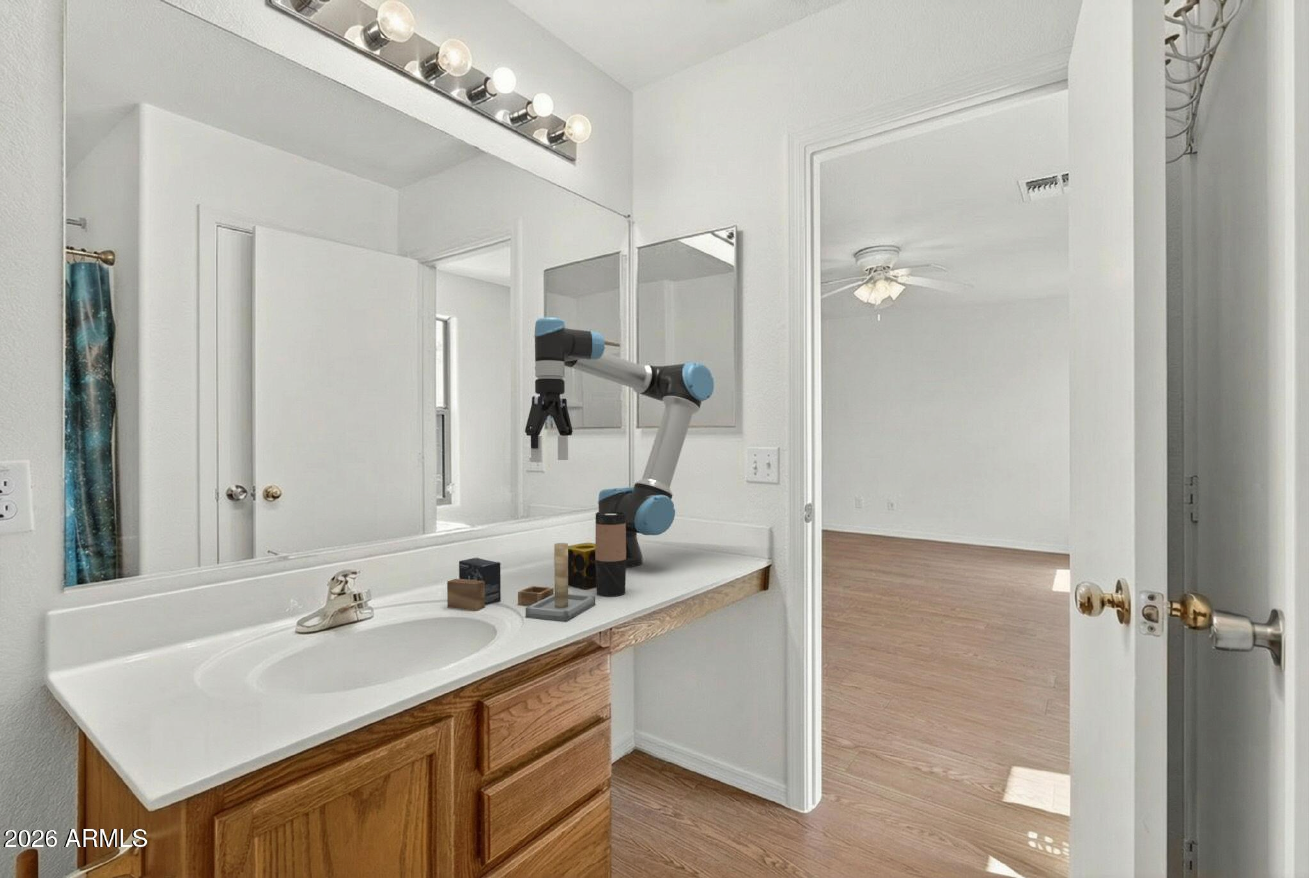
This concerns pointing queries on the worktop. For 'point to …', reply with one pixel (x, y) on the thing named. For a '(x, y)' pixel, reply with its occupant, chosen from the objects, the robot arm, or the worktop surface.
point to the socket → (533, 595)
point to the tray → (550, 612)
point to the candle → (582, 566)
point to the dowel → (561, 574)
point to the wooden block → (466, 594)
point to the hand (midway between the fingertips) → (550, 461)
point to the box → (483, 576)
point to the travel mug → (610, 553)
